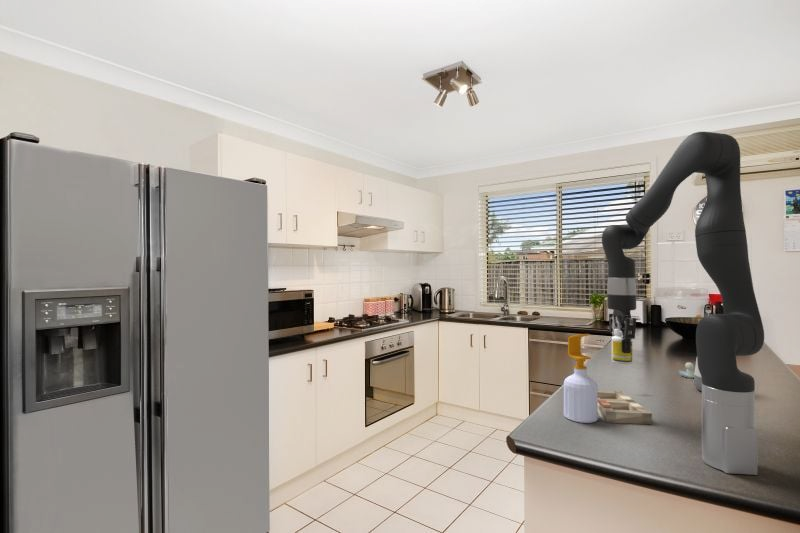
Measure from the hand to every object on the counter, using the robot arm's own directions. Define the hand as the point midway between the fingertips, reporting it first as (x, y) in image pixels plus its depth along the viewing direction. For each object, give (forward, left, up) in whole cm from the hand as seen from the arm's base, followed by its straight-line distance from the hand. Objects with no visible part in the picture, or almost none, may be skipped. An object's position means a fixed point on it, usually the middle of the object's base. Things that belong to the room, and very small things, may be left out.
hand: (621, 350), depth 122 cm
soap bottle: (-3, +12, -19) cm, 23 cm away
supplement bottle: (0, 0, -4) cm, 4 cm away
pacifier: (+50, -46, -20) cm, 70 cm away
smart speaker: (+29, -41, -19) cm, 54 cm away
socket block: (+5, 0, -19) cm, 20 cm away
